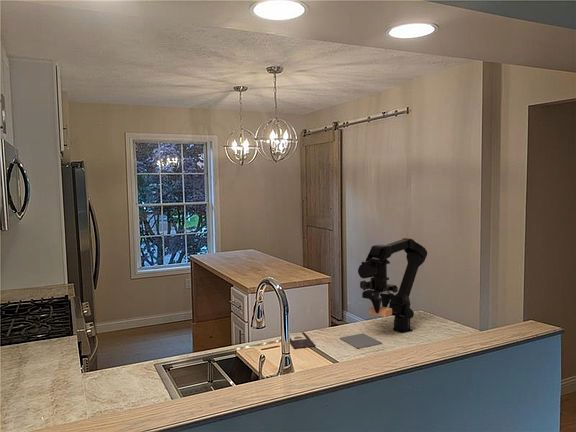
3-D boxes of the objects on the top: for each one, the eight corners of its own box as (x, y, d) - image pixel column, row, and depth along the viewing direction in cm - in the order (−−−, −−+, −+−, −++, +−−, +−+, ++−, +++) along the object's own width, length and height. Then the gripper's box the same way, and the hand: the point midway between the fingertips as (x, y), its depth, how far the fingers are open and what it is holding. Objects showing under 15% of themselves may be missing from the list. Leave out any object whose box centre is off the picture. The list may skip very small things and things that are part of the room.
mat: (363, 334, 196) (363, 333, 196) (382, 343, 183) (382, 342, 183) (339, 338, 191) (339, 337, 191) (357, 348, 178) (357, 347, 178)
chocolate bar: (294, 347, 180) (284, 334, 198) (294, 350, 180) (284, 336, 198) (315, 345, 182) (304, 332, 200) (315, 347, 182) (304, 334, 200)
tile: (376, 311, 195) (375, 305, 195) (392, 314, 190) (392, 308, 190) (369, 313, 192) (369, 307, 192) (385, 317, 186) (385, 311, 186)
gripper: (376, 269, 202) (376, 304, 203) (351, 276, 189) (351, 313, 190) (398, 272, 194) (398, 308, 195) (373, 279, 181) (374, 317, 182)
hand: (380, 311), depth 191 cm, fingers closed on tile, 5 cm apart
